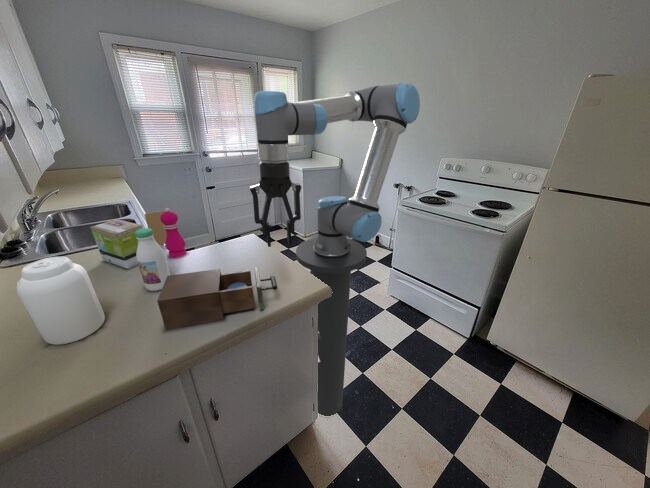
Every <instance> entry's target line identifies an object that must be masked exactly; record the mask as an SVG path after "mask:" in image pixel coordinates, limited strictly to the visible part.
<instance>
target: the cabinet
mask: <svg viewBox="0 0 650 488" xmlns="http://www.w3.org/2000/svg"><path fill="white" fill-rule="evenodd" d="M221 274H222V270H221V268H215V269H209V270H208V269H207V270H201V271H194V272H186V273H185V272H184V273H177V274H170V275H169V276H167V278H166V281H165V283H164V286H163V288H162V290H160V293H159V296H158V297H157V300H156V301H157V305H158V309H159V312H160V315H161V318H162V322H163V325H164V328H165V331H169V330H175V329H181V328H186V327H192V326H197V325H202V324H208V323H214V322H220V321H225V319H224V318H225V313H224V314H223V311H222V306H221V300H220V295H219V287H220V275H221Z"/></svg>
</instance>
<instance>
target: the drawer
mask: <svg viewBox="0 0 650 488" xmlns="http://www.w3.org/2000/svg"><path fill="white" fill-rule="evenodd" d="M254 277H255V287H256V293H257V301H258V309H259V311H260V310H261V311H262V310H264V309H265V308H264V299H263V291H268V290H273V291H277V290H278V283H277V280H276V277H275V276H274V275H270V277H265V278H261V276H260V271H259V267H254ZM267 281H270V284H271V286H264V287H262V284H261V283H262V282H267ZM238 282H242V283H245V284H246V285H247V287H242V288H235V289H229V290H228V287H229V286H230V285H231V284H234V283H238ZM219 295H220V300H221V306H222V311H223V314H224V315H225V314H230V313H235V312H241V311H246V310H252V309H255V308H256V307H255V297H254V291H253V282H252V272H251V270H250V269H249V270H241V271H234V272H226V273H221V275H220V287H219Z"/></svg>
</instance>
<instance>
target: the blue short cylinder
mask: <svg viewBox="0 0 650 488" xmlns="http://www.w3.org/2000/svg"><path fill="white" fill-rule="evenodd" d="M242 287H247V285H246V284H245V283H242V282H238V283H234V284H231V285H230V286H229V287H228V290H229V289H235V288H242Z"/></svg>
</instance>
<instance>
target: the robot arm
mask: <svg viewBox="0 0 650 488" xmlns="http://www.w3.org/2000/svg"><path fill="white" fill-rule="evenodd" d="M253 98H254V107H253V108H254V113H253V114H254V118H255V128H256V139H257V151H258V152H257V153H258V160H259V161H260V162H259V164H258V165H259V175H260V179H259V182H258V184H255V185H250V186H249V190H250V191H249V192H250V193H251V196H252V206H253V217H254V223H255V224H257V225H261V232H262V235H263V236H264V237H265V236H266V243H267V247H268V248H271V247H272V241H271V230H270V229H271V228H270V223H269V221H268V219H269V213H270V209H271V203H272V200H273V199H276V198H281V199H282V202H283V206H284V209H285V211H286V214H287V217H288V220H287V219H286V221H285V222H286V240H287V241H286V242H287V244H288V245H290V246H291V245H292V234H294V233H295V223H296V221H300V220H301V218H302V215H301V196H300V195H301V194H300V193H301V190H302V185H301V184H300V183H298V182H297V183H296V182H293V181H292V180H291V176H290V175H291V174H290V173H291V172H290V163H289V159H290V151H289V149H290V148H289V136H315V135H321V134H322V133H324V132H325V130H326V128H327V126H328V124H332V123H337V122H342V121H343V122H344V121H349V122H352V123H353V122H370V123H371V124H372V126H373V127H374V131H373V134H372V137H371V140H370V144H369V147H368V149H367V153H366V156H365V159H364V163H363V166H362V169H361V172H360V176H359V179H358V182H357V186H356V188H355V192H354V195H352V196H351V197H349V198H348V197H346V196H342V195H333V196H325V197H321V198H320V199H319V200H318V202H317V209H316V210H317V235H316V237H315V238H316V240H315V243H314V246H313V251H314V253H315V254H316V255H318V256H320V257H324V258H340V257H344V256H346V255H347V254H348V253H349V246H350V244H348V240H347V237H349V238H350V239H351V240H354V241H357V242H362V243H365V242H369V241H371V240H372V239H373V238H375V236H377V234H378V232H380V229H381V226H382V224H383V220H382V219H383V218H382V215H381V214H380V213H379V211H380V206H379V204H378V201H379V197H380V194H381V191H382V189H383V185H384V182H385V179H386V176H387V173H388V170H389V168H390V163H391V161H392V157H393V155H394V151H395V148H396V146H397V142H398V139H399V137H400V135H402V134H403V133H405V132H406V129H407V127H408V125H409V124H412V123H414V122H415V121H416V120H417V119H418V117H419V113H420V109H421V103H420V102H421V101H420V100H421V99H420V94H419V91H418V89H417V88H416V86H415V85H414V84H412V83H403V82H400V83H397V84H396V83H395V84H394V83H393V84H383V85H374V86H370V87H369V86H368V87H366V88H363V89H359V90H355V91H349V92H347V93H346V94H345V95H341V96H333V97H332V96H331V97H327V98H317V99H308V100H302V101H294V102H289V101H288V98H287V94H286V93H285V92H284V91H279V90H278V91H275V90H261V91H257V92H256V93H255V94H254V97H253ZM290 189H292V191H293V206H294V207H293V209H294V214H293V211H292V208H291V205H290V202H289V198H288V196H287V193H288V192H289V190H290ZM260 190H262V191H263V193H264V194H265V199H264V205H263V209H262V214H261V217H260V205H259V194H260Z"/></svg>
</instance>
